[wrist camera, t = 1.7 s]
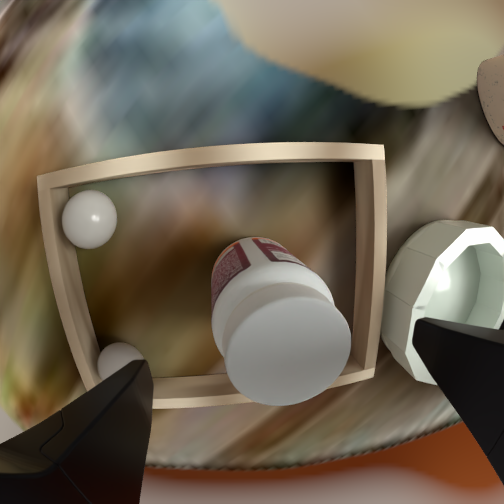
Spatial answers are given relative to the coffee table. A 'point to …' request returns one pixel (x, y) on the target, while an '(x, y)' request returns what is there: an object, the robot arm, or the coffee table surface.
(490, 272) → the bowl
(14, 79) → the coffee table surface
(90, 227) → the pebble
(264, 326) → the pill bottle
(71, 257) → the tray
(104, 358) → the pebble
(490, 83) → the teacup with lid
